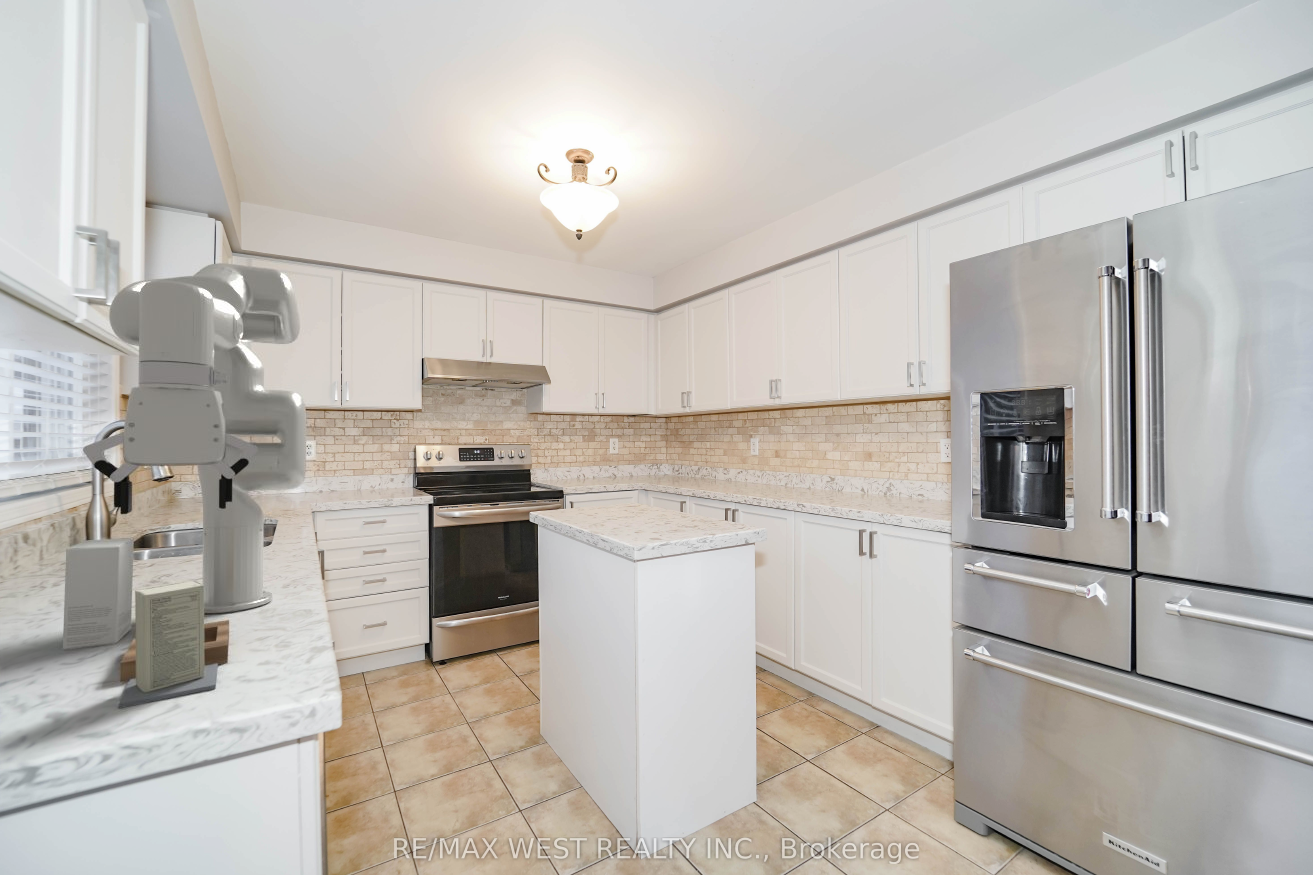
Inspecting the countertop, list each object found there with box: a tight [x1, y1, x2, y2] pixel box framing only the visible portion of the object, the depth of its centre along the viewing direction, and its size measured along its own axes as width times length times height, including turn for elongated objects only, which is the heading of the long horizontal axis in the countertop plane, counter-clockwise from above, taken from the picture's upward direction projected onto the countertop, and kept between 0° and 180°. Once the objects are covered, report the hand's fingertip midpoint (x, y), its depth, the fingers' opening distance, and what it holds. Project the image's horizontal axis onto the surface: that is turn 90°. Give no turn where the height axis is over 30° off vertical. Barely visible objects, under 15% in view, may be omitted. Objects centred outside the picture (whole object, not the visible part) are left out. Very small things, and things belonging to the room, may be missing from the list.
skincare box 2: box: [134, 580, 205, 693], centre depth 73 cm, size 6×4×12 cm
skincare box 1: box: [62, 537, 135, 651], centre depth 91 cm, size 8×7×16 cm
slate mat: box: [117, 663, 219, 709], centre depth 73 cm, size 9×9×1 cm
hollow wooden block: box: [119, 619, 230, 683], centre depth 83 cm, size 15×11×2 cm
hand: (176, 510), depth 74 cm, fingers open, 9 cm apart
